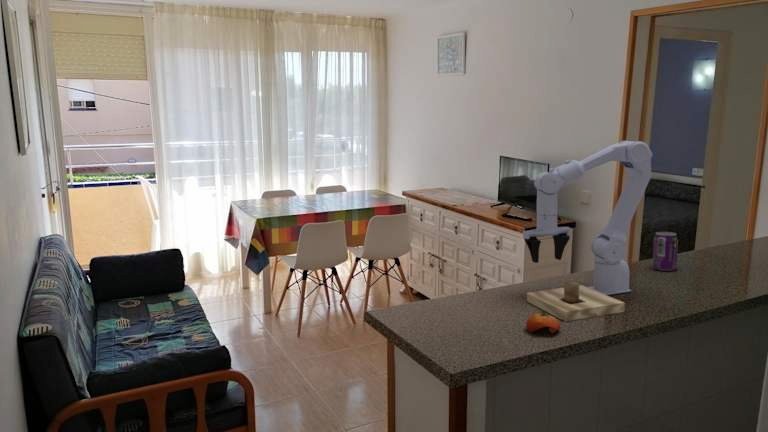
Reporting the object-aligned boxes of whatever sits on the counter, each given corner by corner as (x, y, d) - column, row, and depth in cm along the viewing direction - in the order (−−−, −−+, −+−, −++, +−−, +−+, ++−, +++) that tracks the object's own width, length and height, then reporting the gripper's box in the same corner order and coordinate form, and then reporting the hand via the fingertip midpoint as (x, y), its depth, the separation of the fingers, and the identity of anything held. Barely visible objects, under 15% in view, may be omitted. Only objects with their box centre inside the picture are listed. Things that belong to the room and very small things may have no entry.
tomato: (571, 326, 137) (552, 307, 135) (555, 350, 135) (537, 331, 133) (548, 322, 144) (531, 303, 142) (534, 344, 142) (515, 326, 140)
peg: (573, 306, 156) (573, 281, 155) (582, 310, 152) (582, 285, 151) (560, 308, 155) (560, 283, 154) (569, 312, 151) (569, 287, 150)
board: (581, 293, 167) (581, 285, 167) (624, 311, 150) (624, 302, 150) (526, 301, 162) (526, 292, 161) (565, 321, 145) (565, 311, 144)
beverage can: (680, 271, 186) (682, 235, 184) (658, 272, 186) (660, 236, 184) (670, 266, 193) (671, 231, 191) (648, 266, 193) (650, 231, 191)
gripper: (560, 210, 170) (560, 255, 172) (517, 214, 166) (517, 260, 168) (575, 213, 164) (574, 260, 166) (530, 218, 159) (530, 265, 162)
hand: (546, 260), depth 167 cm, fingers open, 7 cm apart
